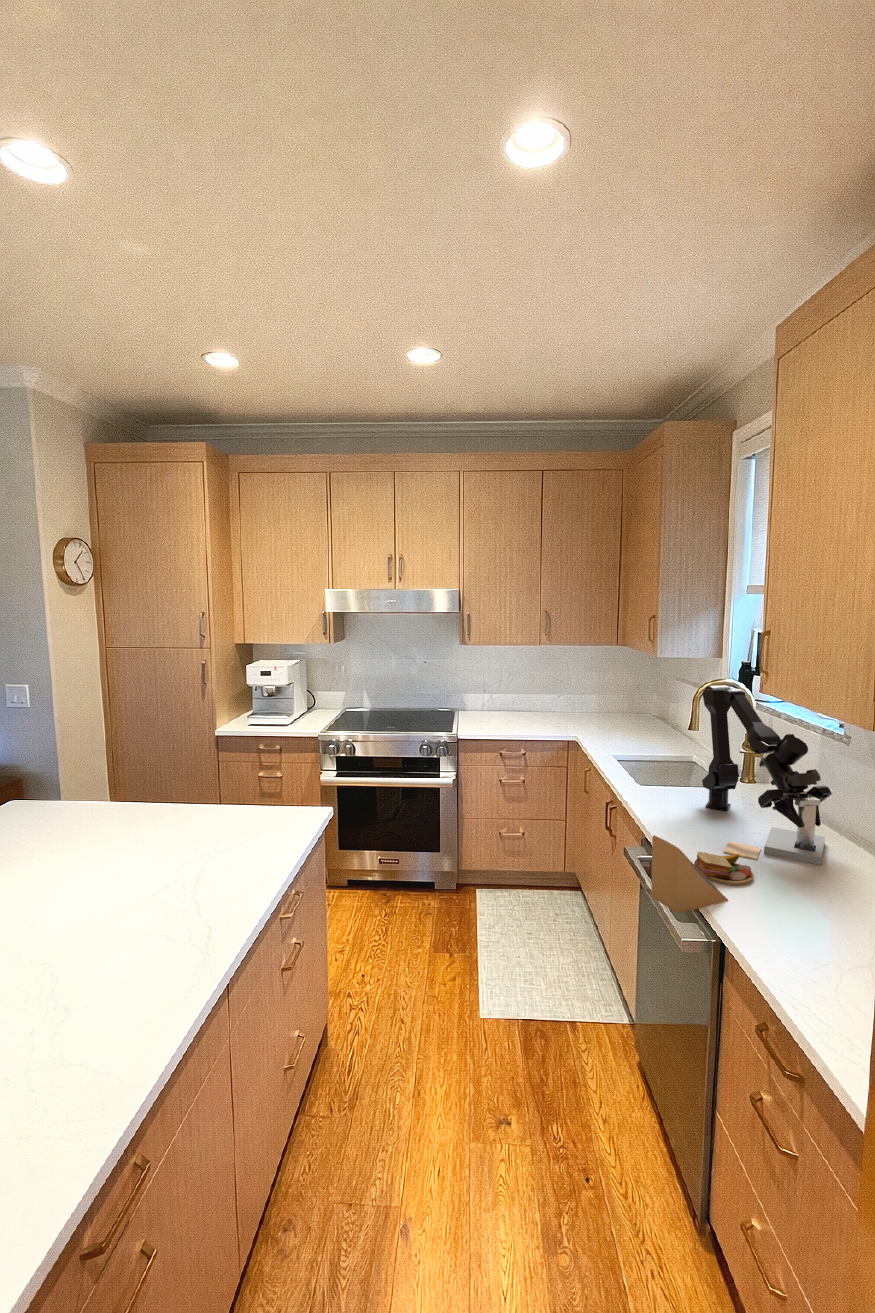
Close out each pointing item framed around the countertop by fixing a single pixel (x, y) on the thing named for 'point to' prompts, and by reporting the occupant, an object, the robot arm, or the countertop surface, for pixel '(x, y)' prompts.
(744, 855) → the coaster
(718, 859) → the toy sandwich meal
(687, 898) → the sandwich container
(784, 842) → the cover plate
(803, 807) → the t key
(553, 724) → the countertop surface
